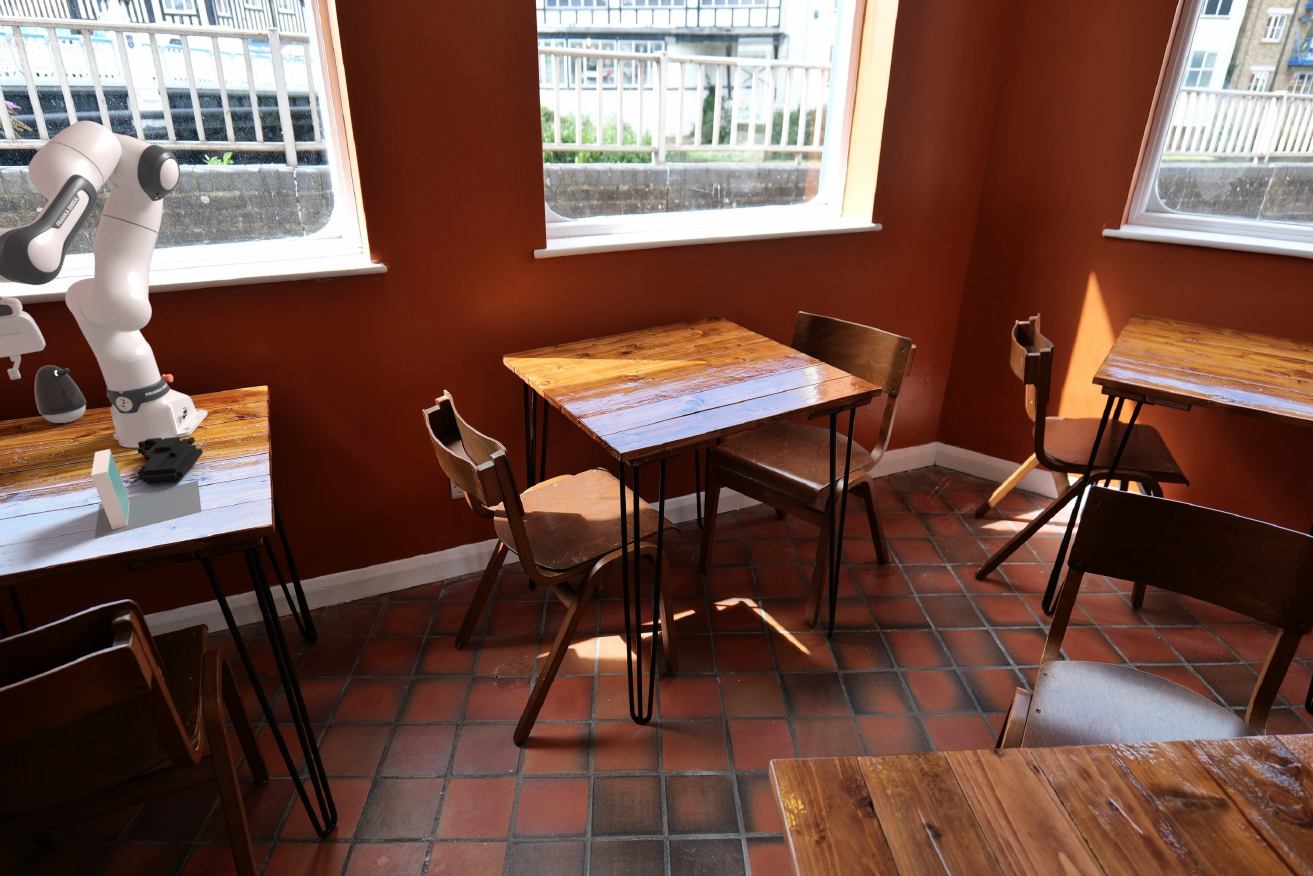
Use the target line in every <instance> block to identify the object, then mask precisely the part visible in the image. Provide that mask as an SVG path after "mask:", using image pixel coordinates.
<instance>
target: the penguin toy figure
mask: <svg viewBox="0 0 1313 876" xmlns="http://www.w3.org/2000/svg"><path fill="white" fill-rule="evenodd" d="M70 370H71V369H70V368H68V367H66V368H64V369H62V368H60V367H59V366H56V365H52V364H51V365H50V364H48V365H44V366H42V367H40V368H39V369H38V370H37V372H36V374H35V379H34V397H35V403H36V407H37V410H38V413H39V414H40V415H42V417H43V418H44V419H45V420H47V421H48V422H50V423H54V424H57V423H64V424H69V423H72V421H73V422H75V420H76V421H78V420H79V419H81V418H82V417H83V416H84V414H85V412H86V409H87V408H86V407H87V400H86V398H85V396H84V394H83V392H82V391H81V390H80V389H81V388H79V386H78V384H77V383H76V382H75V381H74V380H73V378H71V376H70V375H69V374H68V373H69V372H70ZM77 419H78V420H77ZM68 422H69V423H68Z"/></svg>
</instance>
